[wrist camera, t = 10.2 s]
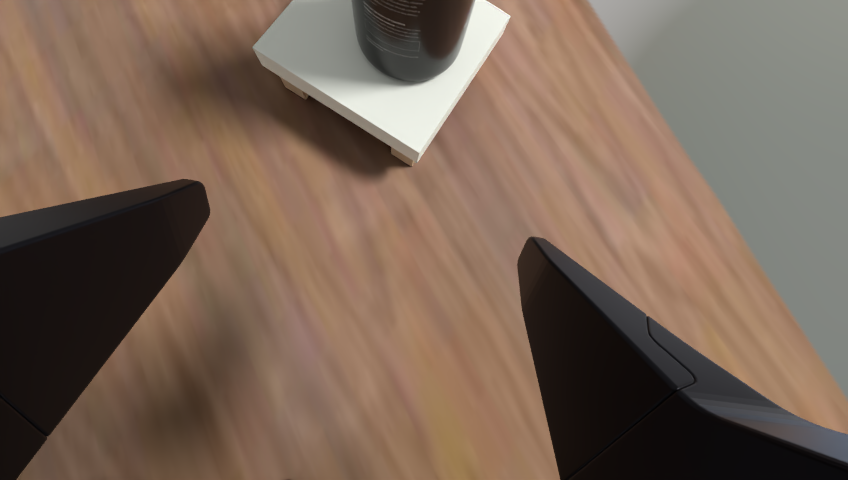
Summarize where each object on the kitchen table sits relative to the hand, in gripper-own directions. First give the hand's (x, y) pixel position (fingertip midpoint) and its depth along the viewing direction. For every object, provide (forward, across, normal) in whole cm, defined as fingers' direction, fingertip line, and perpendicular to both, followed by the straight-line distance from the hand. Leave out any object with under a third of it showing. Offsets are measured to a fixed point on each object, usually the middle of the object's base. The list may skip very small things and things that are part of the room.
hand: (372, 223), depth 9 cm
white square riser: (+20, +2, -1) cm, 20 cm away
